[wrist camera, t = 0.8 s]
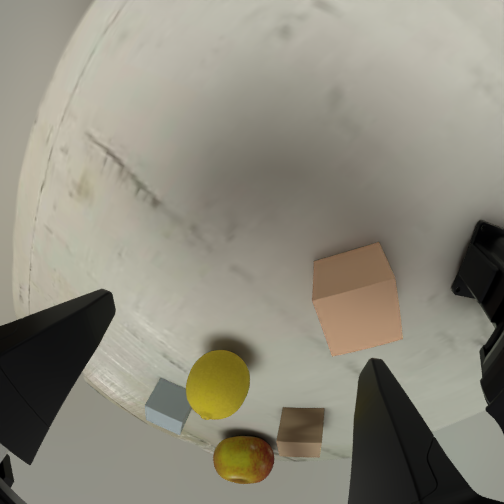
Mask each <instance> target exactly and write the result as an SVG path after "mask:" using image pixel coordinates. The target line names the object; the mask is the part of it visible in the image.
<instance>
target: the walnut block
mask: <svg viewBox="0 0 504 504" xmlns="http://www.w3.org/2000/svg"><path fill="white" fill-rule="evenodd" d="M323 421H324V408H287V407H283V410H282V415H281V420H280V426H279V431H278V436H277V440H276V442H277V446H278V451H279V455H280V456H289V457H320V451H321V444H322V433H323Z"/></svg>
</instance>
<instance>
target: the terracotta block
mask: <svg viewBox="0 0 504 504" xmlns="http://www.w3.org/2000/svg"><path fill="white" fill-rule="evenodd" d="M312 302H313V304H314V307H315V310H316V312H317V315H318V318H319V321H320V323H321V326H322V329H323V332H324V335H325V337H326V340H327V343H328V346H329V349H330V352H331V355H332V356H337V355H342V354H346V353H351V352H355V351H359V350H363V349H368V348H372V347H375V346H379V345H383V344H387V343H390V342H394V341H398V340H401V339H403V337H402V326H401V317H400V308H399V301H398V294H397V287H396V281H395V277H394V274H393V272H392V270H391V267H390V265H389V263H388V261H387V259H386V256H385V254H384V252H383V250H382V248H381V246H380V244H379V242H377V243H374V244H371V245H367V246H364V247H361V248H357V249H354V250H351V251H347V252H344V253H340V254H337V255H334V256H330V257H327V258H323V259H320V260H316V261H314V274H313V295H312Z"/></svg>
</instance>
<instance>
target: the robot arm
mask: <svg viewBox="0 0 504 504" xmlns="http://www.w3.org/2000/svg"><path fill="white" fill-rule="evenodd" d="M482 226H483V228H482V229H481V227H482ZM458 287H459V288H458ZM457 288H458V289H457ZM456 289H457V290H456ZM452 291H453V293H454V294H455V295H459V296H464V297H469V298H474V299H476V300H477V302H478V303H479V304H480V305H481V307H482V309H483V310H484V312H485V313H486V315H487V316H488V318H489V320H490V321H491V322H492V324H493V325H494V327H495V330H494V332H493V333H492V335H491V337H490V338H489V340H488V341H487V343H486V344H485V345H483V347H482V348H481V350H480V359H481V368H482V379H481V380H480V383H481V387H482V391H483V394H484V397H485V400H486V402H487V404H488V406H487V407H486V411H487V412H488V413H489V414H490V415H491V416H492V417H493V418H494V419H495V420H496V422H497V423H498V424H499V426H500V427H501V429H502V431H503V434H504V229H503V228H501V227H498V226H496V225H493V224H491V223H488V222H485V221H483V220H481V221H479V222H478V223H477V226H476V229H475V232H474V235H473V237H472V240H471V243H470V245H469V248H468V251H467V253H466V256H465V258H464V261H463V263H462V265H461V268H460V270H459V272H458V275H457V277H456V279H455V281H454V284H453V286H452ZM115 311H116V309H115V304H114V299H113V295H112V293H111V292H110V291H107V290H105V289H100V290H97V291H94V292H91V293H88V294H86V295H83V296H80V297H78V298H75V299H72V300H69V301H67V302H64V303H61V304H58V305H56V306H53V307H50V308H48V309H45V310H42V311H40V312H37V313H34V314H32V315H29V316H26V317H24V318H23V319H22V318H21V319H18V320H16V321H13V322H11V323H8V324H5V325H2V326H0V504H26V503H25V502H24V501H23V500H22V499H21V498H20V497H19V496H18V495H17V494H16V493H15V492H14V491H13V490H12V489H11V486H12V484H13V482H14V478H13V473H12V468H11V463H10V457H9V455H8V454H7V452H8V451H10V452H12V453H13V454H14V455H16V456H17V457H19V458H20V459H21V460H23V461H24V462H26V463H27V464H29V465H31V463H32V462H33V459H34V457H35V455H36V453H37V451H38V449H39V447H40V445H41V443H42V441H43V439H44V437H45V436H46V434H47V432H48V430H49V427H50V426H51V424H52V422H53V420H54V418H55V417H56V415H57V413H58V411H59V409H60V408H61V406H62V404H63V402H64V401H65V399H66V397H67V396H68V394H69V392H70V391H71V388H72V387H73V386H74V384H75V382H76V381H77V379H78V377H79V376H80V374H81V372H82V371H83V369H84V368H85V366H86V364H87V363H88V361H89V360H90V358H91V357H92V355H93V354H94V352H95V350H96V349H97V347H98V345H99V344H100V342H101V340H102V338H103V336H104V334H105V332H106V330H107V328H108V327H109V325H110V323H111V321H112V319H113V317H114V315H115ZM348 504H504V502H500V501H496V500H492V499H489V498H486V497H482V496H481V495H479V494H477V493H476V492H475V491H473V489H472V488H471V487H470V486H469V485H468V483H467V482H466V481H465V479H464V478H463V477H462V475H461V474H460V473H459V471H458V470H457V469H456V468H455V466H454V465H453V463H452V462H451V461H450V459H449V458H448V457H447V456H446V454H445V452H444V451H443V449H442V448H441V446H440V445H439V443H438V441H437V440H436V438H435V437H434V436H433V434H432V432H431V430H430V429H429V427H428V426H427V424H426V423H425V421H424V420H423V418H422V417H421V415H420V414H419V412H418V411H417V409H416V408H415V406H414V405H413V403H412V402H411V400H410V399H409V397H408V396H407V394H406V393H405V391H404V390H403V388H402V387H401V385H400V384H399V383H398V381H397V380H396V378H395V377H394V375H393V374H392V372H391V371H390V370H389V368H388V367H387V365H386V364H385V363H384V361H383V360H382V359H376V358H371V359H369V360H368V362H367V364H366V365H365V367H364V368H363V370H362V372H361V373H360V376H359V380H358V389H357V398H356V406H355V414H354V429H353V452H352V468H351V479H350V489H349V498H348Z"/></svg>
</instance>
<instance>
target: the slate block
mask: <svg viewBox="0 0 504 504" xmlns="http://www.w3.org/2000/svg"><path fill="white" fill-rule="evenodd" d="M191 409H192V407H191V406H190V404H189V402H188V400H187V396H186V389H185V388H183V387H181V386H178V385H176V384H174V383H172V382H169V381H167V380H165V379H163V378H160V380H159V382H158V383H157V385H156V387H155V389H154V390H153V392H152V394H151V395H150V397H149V399H148V401H147V402H146V404H145V413H146V420H148V421H150V422H152V423H154V424H156V425H158V426H160V427H163V428H165V429H167V430H169V431H172V432H174V433H176V434H179V435H180V434H181V431H182V429H183V427H184V425H185V423H186V420H187V418H188V416H189V414H190V411H191Z"/></svg>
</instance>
